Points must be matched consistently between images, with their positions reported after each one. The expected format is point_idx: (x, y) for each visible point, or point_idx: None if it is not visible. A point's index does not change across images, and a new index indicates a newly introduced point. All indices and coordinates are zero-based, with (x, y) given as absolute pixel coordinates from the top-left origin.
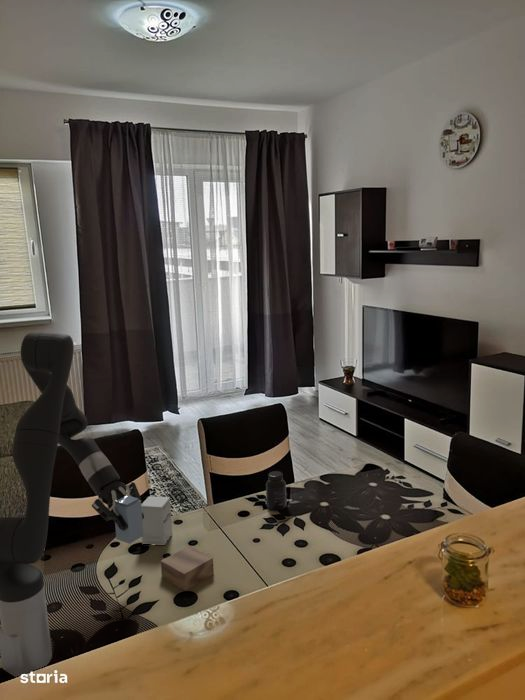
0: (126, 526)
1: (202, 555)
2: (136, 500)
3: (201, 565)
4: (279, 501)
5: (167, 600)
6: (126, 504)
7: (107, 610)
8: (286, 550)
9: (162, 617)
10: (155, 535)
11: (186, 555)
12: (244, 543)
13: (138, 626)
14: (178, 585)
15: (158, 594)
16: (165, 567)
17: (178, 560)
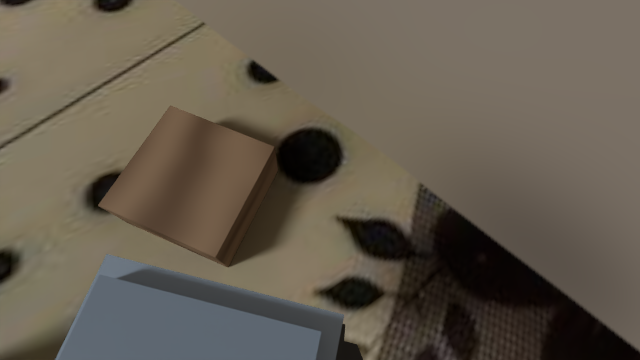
0: (343, 324)
1: (160, 137)
2: (143, 286)
3: (213, 123)
4: None
5: (331, 194)
6: (314, 340)
7: (431, 338)
8: (56, 13)
9: (395, 174)
10: None
11: (166, 186)
12: (13, 111)
13: (447, 211)
14: (265, 194)
15: (314, 230)
16: (231, 237)
17: (202, 197)
